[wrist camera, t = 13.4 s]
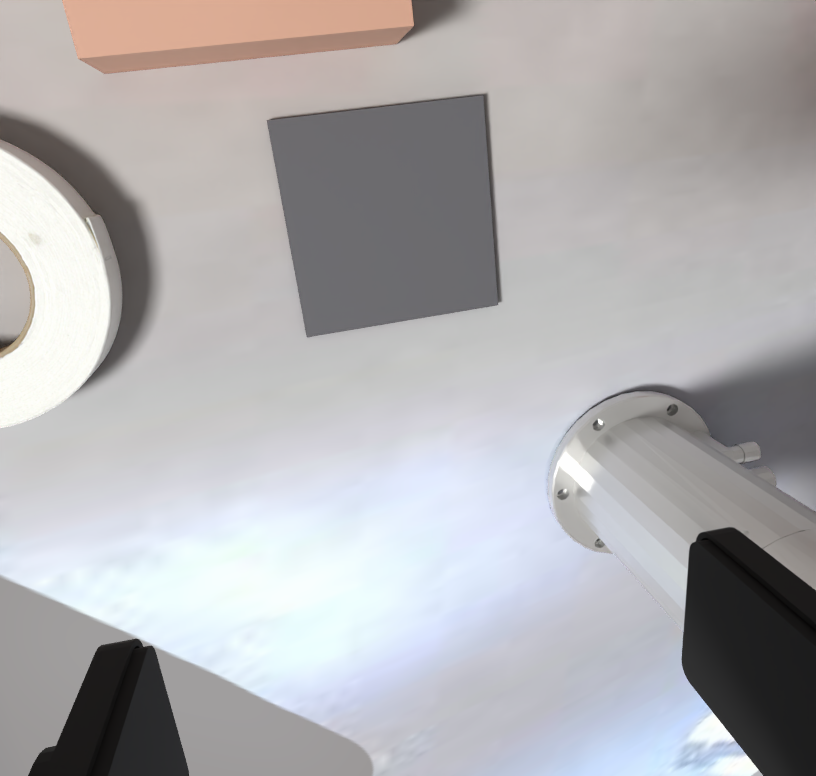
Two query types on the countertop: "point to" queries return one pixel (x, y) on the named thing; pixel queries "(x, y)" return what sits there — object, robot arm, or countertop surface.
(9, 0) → the countertop surface
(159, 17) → the hole block
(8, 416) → the roll of tape
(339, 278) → the rubber mat
